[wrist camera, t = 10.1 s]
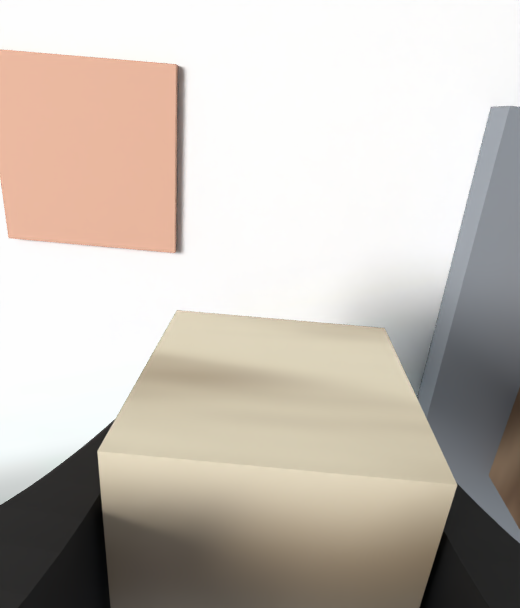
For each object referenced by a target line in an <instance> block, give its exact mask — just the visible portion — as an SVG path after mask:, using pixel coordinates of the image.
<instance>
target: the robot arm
mask: <svg viewBox="0 0 520 608" xmlns="http://www.w3.org/2000/svg"><path fill="white" fill-rule="evenodd" d="M114 421H115V420H114ZM114 421H112V422H111V423H110V424H109V425H108V426H107V427H106V428H104V429H103V430H102V431H101V432H100V433H99V434H97V435H96V436H95V437H94V438H93V439H91V440H90V441H89V442H88V443H87V444H86V445H84V446H83V447H82V448H81V449H79V450H78V451H77V452H76V453H74V454H73V455H72V456H70V457H69V458H68V459H67V460H65V461H64V462H63V463H61V464H60V465H59V466H57V467H56V468H55V469H53V470H52V471H51V472H50V473H48V474H47V475H45V476H44V477H43V478H41V479H40V480H38V481H37V482H35V483H34V484H33V485H31V486H30V487H28V488H27V489H25V490H24V491H22V492H20V493H19V494H17V495H16V496H14V497H13V498H11V499H10V500H8V501H6V502H5V503H3V504H1V505H0V608H111V606H110V595H109V583H108V571H107V559H106V548H105V536H104V524H103V512H102V501H101V489H100V477H99V465H98V454H97V451H98V449H99V447H100V446H101V444H102V442H103V440H104V438H105V437H106V435H107V433H108V431H109V430H110V428H111V426H112V424H113V423H114ZM456 483H457V482H456ZM419 608H520V543H519V542H518V541H517V540H515V539H514V538H513V537H512V536H511V535H510V534H509V533H508V532H506V531H505V530H504V529H503V528H502V527H501V526H500V525H499V524H498V523H497V522H496V521H495V520H494V519H493V518H492V517H491V516H489V515H488V514H487V513H486V512H485V511H484V510H483V509H482V508H481V507H480V506H479V505H478V504H477V503H476V502H475V501H474V500H473V499H472V498H471V497H470V496H469V495H468V494H467V493H466V492H465V491H464V490H463V489H462V488H461V487H460V486H459V484H458V483H457V488H456V491H455V494H454V497H453V501H452V504H451V507H450V510H449V513H448V517H447V520H446V523H445V526H444V530H443V533H442V536H441V539H440V543H439V546H438V549H437V552H436V556H435V559H434V562H433V565H432V568H431V572H430V575H429V578H428V581H427V585H426V588H425V591H424V594H423V598H422V601H421V604H420V607H419Z"/></svg>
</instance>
